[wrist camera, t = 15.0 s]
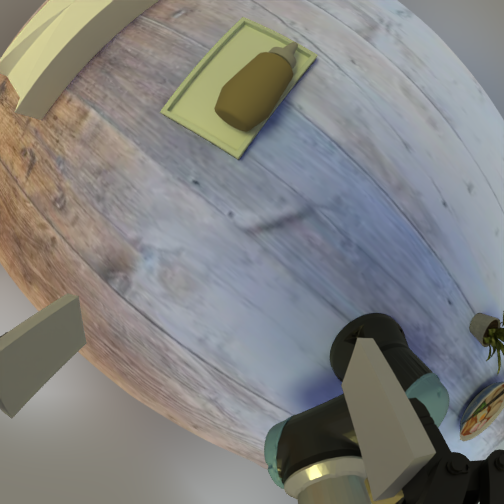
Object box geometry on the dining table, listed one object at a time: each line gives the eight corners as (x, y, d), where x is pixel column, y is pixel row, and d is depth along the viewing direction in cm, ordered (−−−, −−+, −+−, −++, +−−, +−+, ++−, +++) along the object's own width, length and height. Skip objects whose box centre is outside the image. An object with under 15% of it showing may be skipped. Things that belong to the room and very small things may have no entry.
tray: (243, 22, 36) (242, 17, 34) (315, 59, 37) (317, 55, 36) (163, 115, 39) (160, 112, 37) (238, 160, 41) (238, 158, 39)
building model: (145, -44, 30) (135, -64, 21) (199, -24, 33) (192, -51, 24) (15, 79, 36) (-8, 70, 27) (43, 120, 39) (14, 112, 29)
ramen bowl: (442, 440, 55) (452, 455, 47) (451, 398, 51) (465, 414, 43) (494, 402, 53) (506, 414, 45) (507, 356, 49) (522, 367, 41)
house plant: (493, 279, 45) (540, 299, 29) (497, 322, 47) (536, 346, 31) (456, 313, 46) (503, 343, 30) (461, 355, 48) (499, 387, 32)
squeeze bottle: (199, 96, 32) (271, 20, 30) (215, 122, 40) (275, 51, 38) (250, 119, 30) (318, 37, 29) (258, 144, 38) (316, 67, 37)
